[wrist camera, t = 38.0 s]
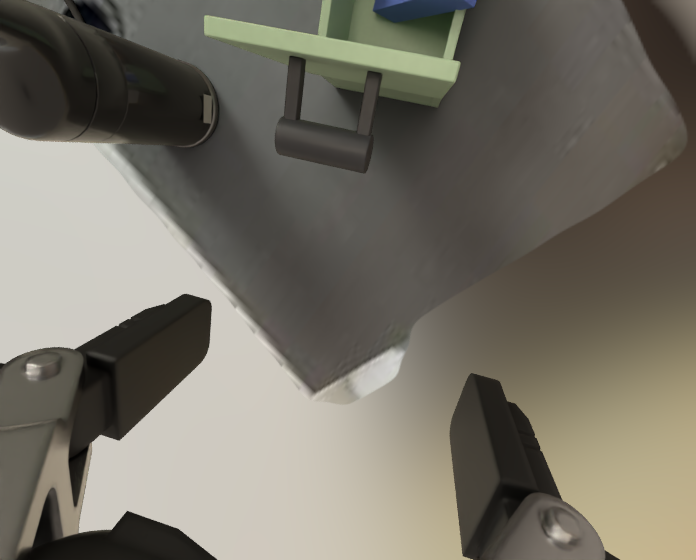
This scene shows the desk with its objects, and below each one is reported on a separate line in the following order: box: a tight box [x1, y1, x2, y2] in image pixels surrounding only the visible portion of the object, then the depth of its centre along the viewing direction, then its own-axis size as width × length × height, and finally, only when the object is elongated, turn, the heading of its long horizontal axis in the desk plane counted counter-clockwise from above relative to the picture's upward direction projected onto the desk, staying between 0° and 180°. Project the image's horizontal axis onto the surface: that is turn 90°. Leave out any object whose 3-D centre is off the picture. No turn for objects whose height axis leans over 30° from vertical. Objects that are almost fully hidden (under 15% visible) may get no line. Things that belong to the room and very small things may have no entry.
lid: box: [204, 15, 460, 173], centre depth 24 cm, size 16×12×6 cm
